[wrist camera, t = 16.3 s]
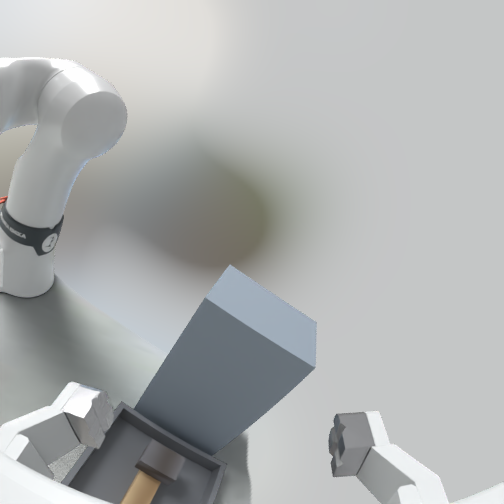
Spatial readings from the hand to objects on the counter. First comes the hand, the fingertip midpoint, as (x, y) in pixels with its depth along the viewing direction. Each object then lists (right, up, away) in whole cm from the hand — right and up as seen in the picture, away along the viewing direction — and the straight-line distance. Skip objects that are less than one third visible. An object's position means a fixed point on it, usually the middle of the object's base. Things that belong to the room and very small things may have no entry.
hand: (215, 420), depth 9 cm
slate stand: (-11, -21, +36) cm, 43 cm away
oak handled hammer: (-14, -27, +17) cm, 35 cm away
